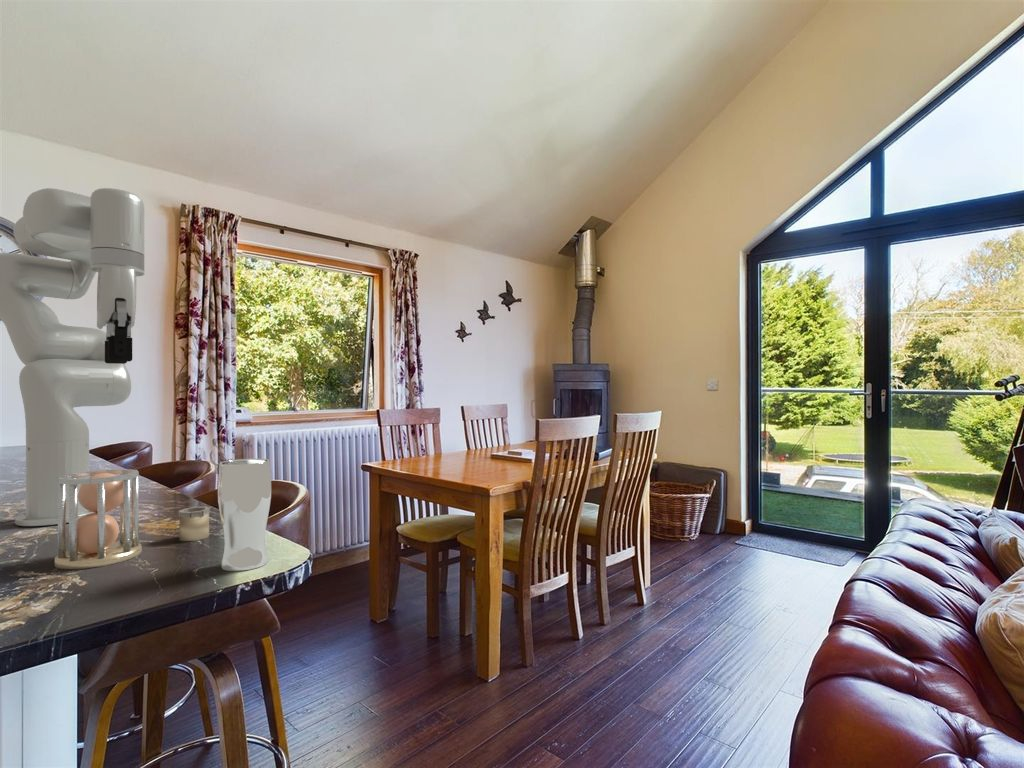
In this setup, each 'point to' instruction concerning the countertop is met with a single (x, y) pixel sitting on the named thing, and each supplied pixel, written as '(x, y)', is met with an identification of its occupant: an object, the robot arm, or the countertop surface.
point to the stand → (194, 523)
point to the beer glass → (244, 512)
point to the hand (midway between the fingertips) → (118, 362)
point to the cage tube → (98, 521)
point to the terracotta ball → (112, 494)
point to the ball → (95, 533)
